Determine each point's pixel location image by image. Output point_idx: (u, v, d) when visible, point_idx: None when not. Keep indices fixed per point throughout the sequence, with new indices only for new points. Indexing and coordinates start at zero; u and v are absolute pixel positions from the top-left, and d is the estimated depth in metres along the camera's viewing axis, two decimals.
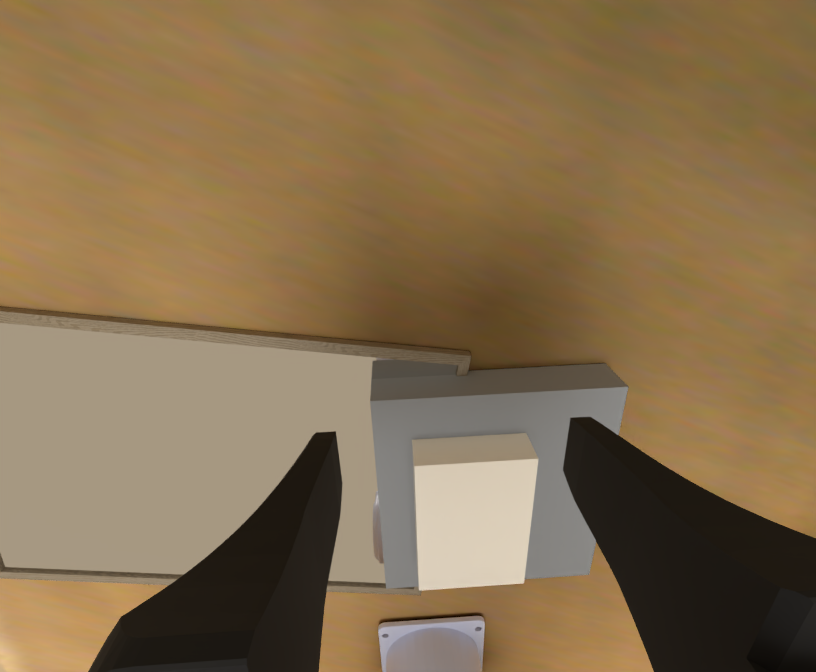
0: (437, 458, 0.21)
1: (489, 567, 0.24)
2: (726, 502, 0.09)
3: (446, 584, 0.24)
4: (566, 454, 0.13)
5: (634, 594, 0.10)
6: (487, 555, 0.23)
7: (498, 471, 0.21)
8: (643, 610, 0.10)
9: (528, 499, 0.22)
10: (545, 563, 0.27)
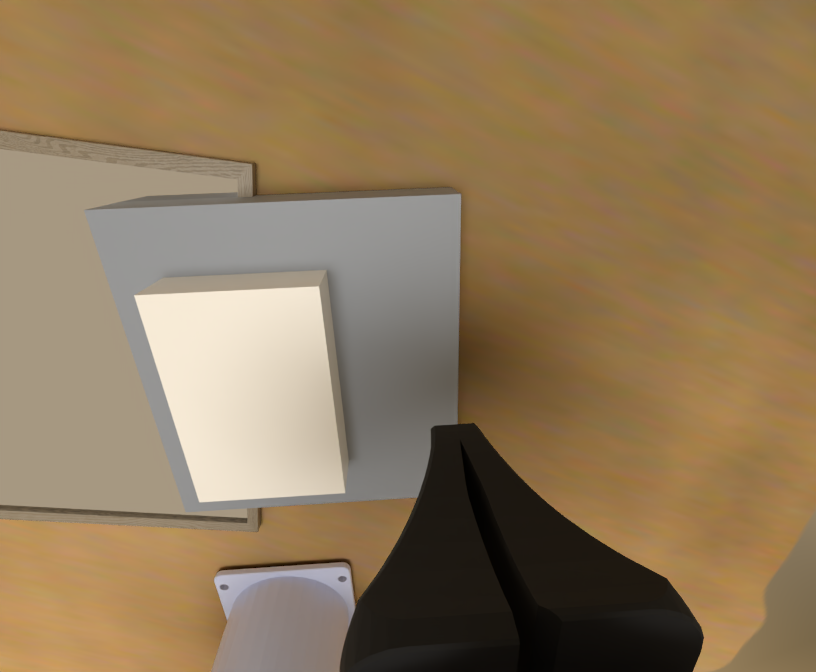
0: (177, 289, 0.14)
1: (290, 468, 0.17)
2: (556, 513, 0.09)
3: (235, 493, 0.18)
4: None
5: None
6: (282, 448, 0.17)
7: (263, 307, 0.14)
8: None
9: (320, 357, 0.15)
10: (394, 477, 0.20)
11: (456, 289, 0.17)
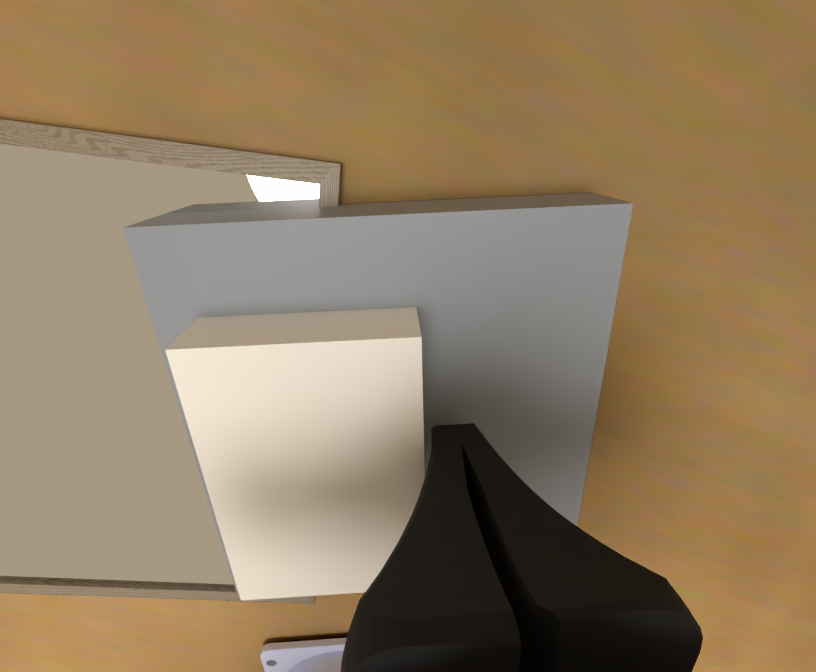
0: (223, 338, 0.10)
1: (360, 560, 0.13)
2: (555, 513, 0.09)
3: (288, 589, 0.14)
4: None
5: None
6: (352, 537, 0.13)
7: (343, 365, 0.10)
8: None
9: (413, 427, 0.11)
10: None
11: (607, 328, 0.13)
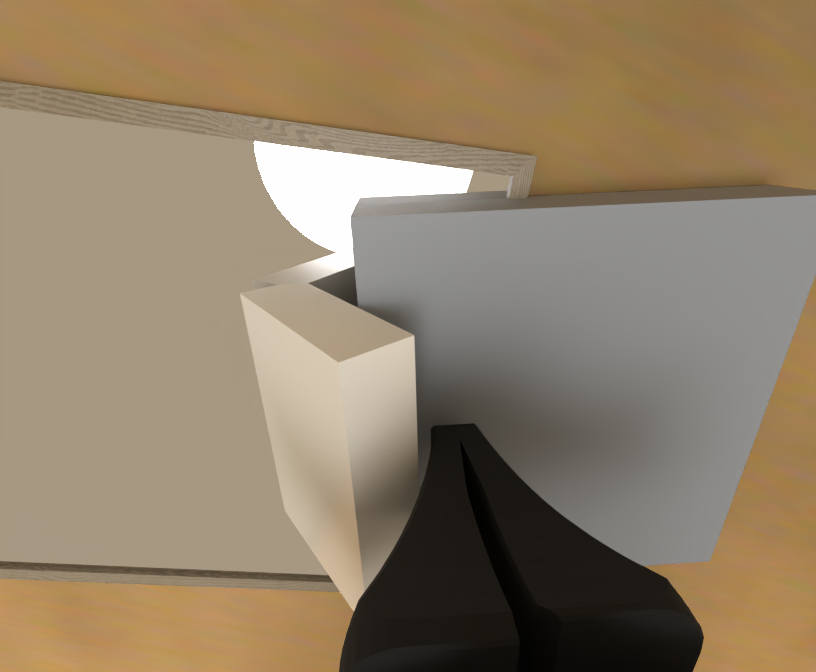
0: (269, 298, 0.12)
1: (329, 551, 0.13)
2: (556, 513, 0.09)
3: (301, 529, 0.16)
4: None
5: None
6: (323, 525, 0.13)
7: (301, 358, 0.10)
8: None
9: (344, 456, 0.10)
10: (643, 542, 0.16)
11: (795, 317, 0.13)
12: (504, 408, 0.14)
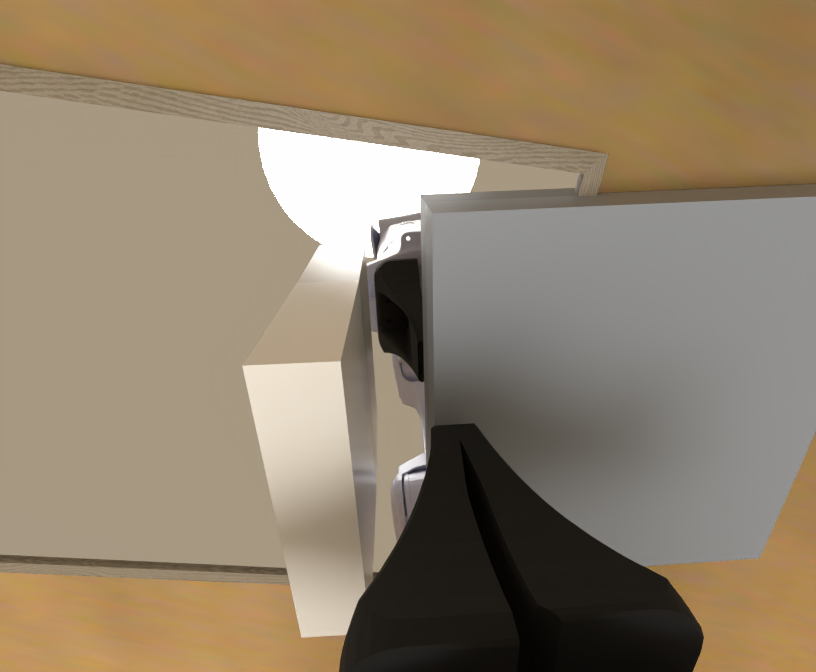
0: (307, 289, 0.13)
1: None
2: (556, 513, 0.09)
3: None
4: None
5: None
6: None
7: None
8: None
9: None
10: (695, 540, 0.17)
11: None
12: (569, 405, 0.14)
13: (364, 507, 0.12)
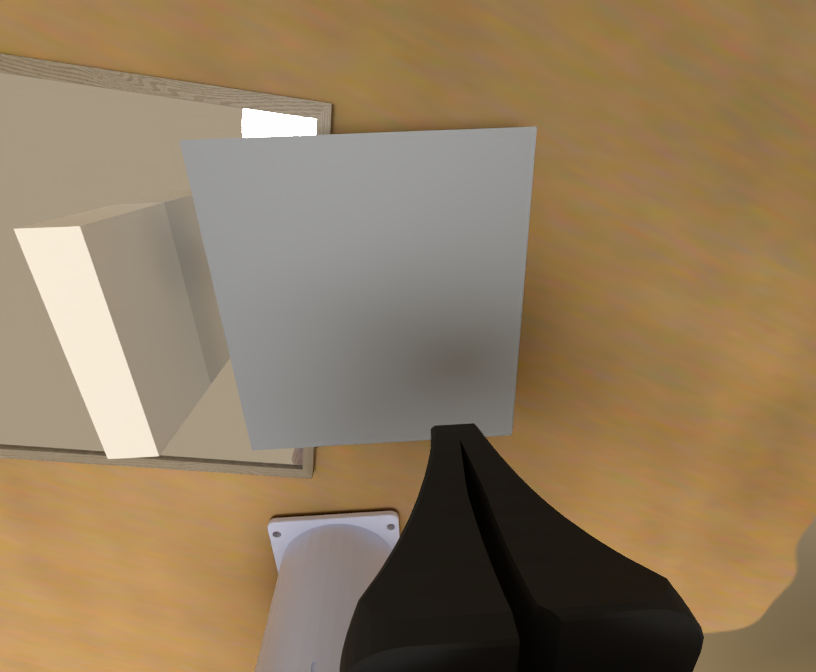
0: (118, 206, 0.18)
1: None
2: (556, 513, 0.09)
3: None
4: None
5: None
6: None
7: None
8: None
9: None
10: (453, 416, 0.21)
11: (526, 223, 0.17)
12: (320, 295, 0.18)
13: (152, 362, 0.17)
